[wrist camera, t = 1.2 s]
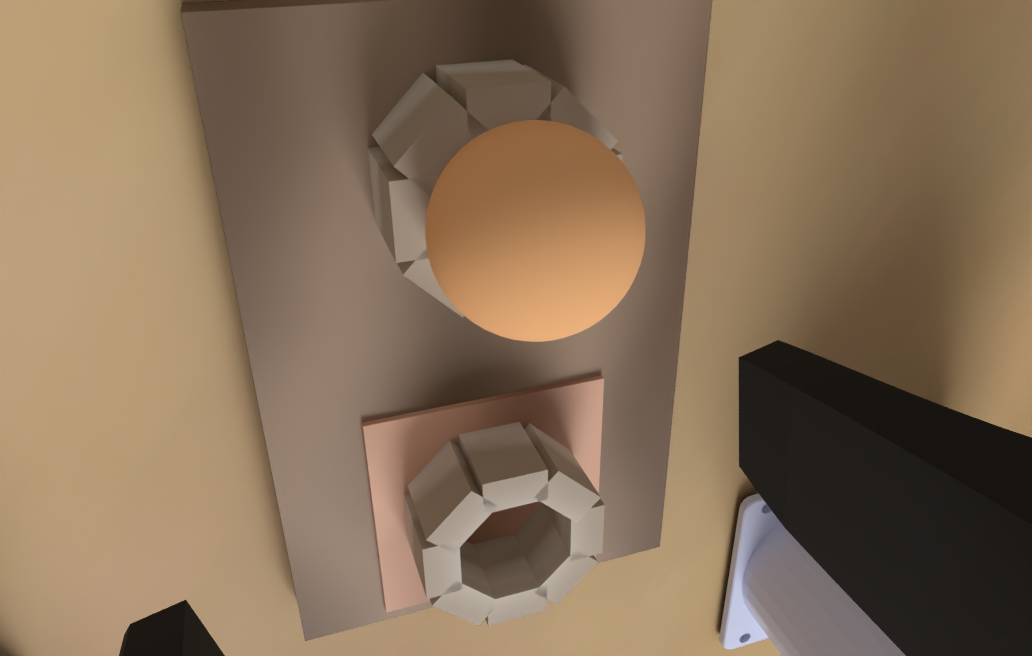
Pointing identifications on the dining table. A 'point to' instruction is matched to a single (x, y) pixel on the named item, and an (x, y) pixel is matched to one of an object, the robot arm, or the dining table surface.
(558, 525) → the rack
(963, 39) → the dining table surface
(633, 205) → the ball
